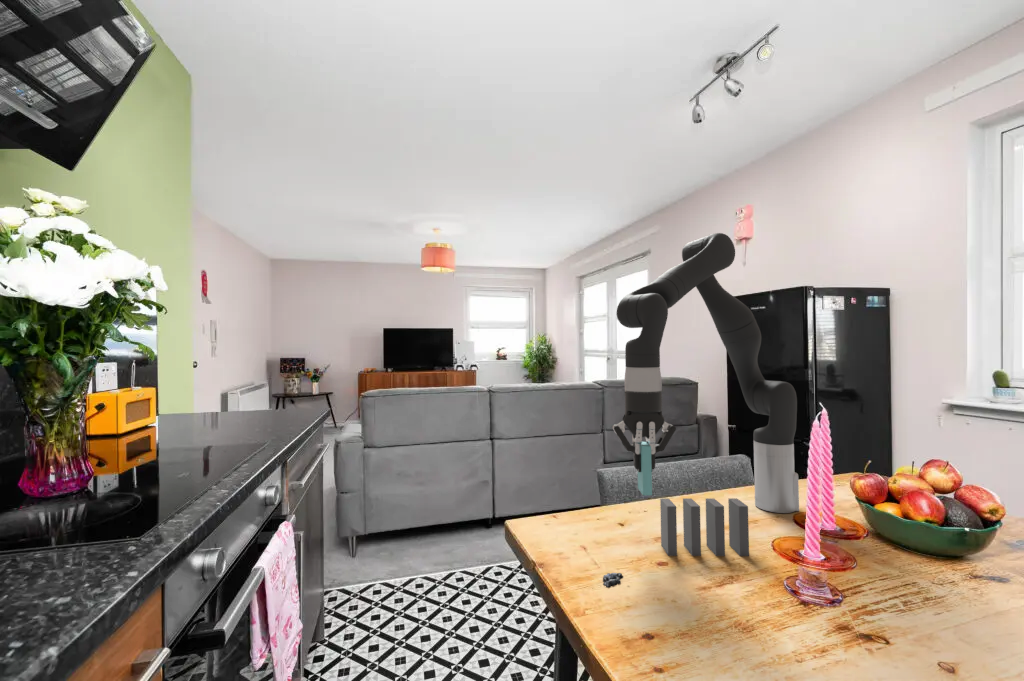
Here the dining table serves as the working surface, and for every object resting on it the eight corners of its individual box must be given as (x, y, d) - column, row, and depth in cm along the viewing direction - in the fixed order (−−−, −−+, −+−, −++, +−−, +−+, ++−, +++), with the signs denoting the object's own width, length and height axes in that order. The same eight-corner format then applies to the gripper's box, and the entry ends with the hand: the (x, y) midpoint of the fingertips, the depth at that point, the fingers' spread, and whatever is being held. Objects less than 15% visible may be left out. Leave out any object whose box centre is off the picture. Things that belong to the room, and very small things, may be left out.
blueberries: (639, 582, 85) (639, 572, 85) (624, 598, 78) (624, 587, 79) (605, 573, 89) (605, 563, 89) (587, 587, 82) (588, 576, 82)
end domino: (646, 488, 99) (645, 441, 99) (652, 495, 94) (651, 446, 94) (637, 488, 99) (636, 441, 99) (643, 495, 94) (642, 446, 94)
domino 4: (738, 545, 98) (736, 498, 98) (749, 556, 93) (748, 506, 93) (729, 545, 98) (728, 498, 98) (740, 556, 93) (738, 506, 93)
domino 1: (669, 545, 99) (668, 498, 99) (677, 555, 94) (676, 506, 94) (661, 545, 99) (660, 498, 99) (668, 555, 94) (667, 506, 94)
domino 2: (692, 545, 98) (691, 498, 99) (701, 555, 93) (700, 506, 94) (683, 545, 99) (682, 498, 99) (692, 555, 94) (691, 506, 94)
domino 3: (715, 545, 98) (714, 498, 98) (725, 556, 93) (723, 506, 93) (706, 545, 98) (705, 498, 99) (716, 555, 93) (714, 506, 94)
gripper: (670, 387, 101) (671, 466, 100) (607, 387, 101) (608, 466, 101) (681, 390, 93) (683, 476, 93) (613, 390, 94) (614, 476, 93)
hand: (644, 470), depth 97 cm, fingers closed on end domino, 1 cm apart
